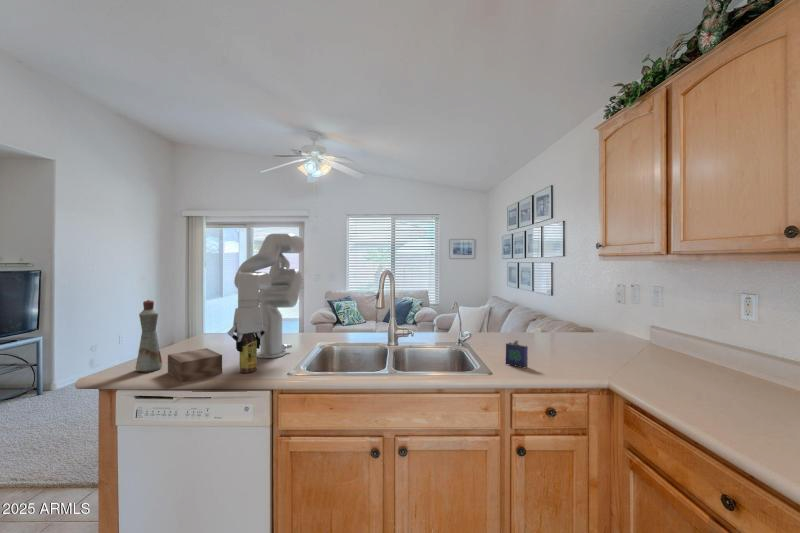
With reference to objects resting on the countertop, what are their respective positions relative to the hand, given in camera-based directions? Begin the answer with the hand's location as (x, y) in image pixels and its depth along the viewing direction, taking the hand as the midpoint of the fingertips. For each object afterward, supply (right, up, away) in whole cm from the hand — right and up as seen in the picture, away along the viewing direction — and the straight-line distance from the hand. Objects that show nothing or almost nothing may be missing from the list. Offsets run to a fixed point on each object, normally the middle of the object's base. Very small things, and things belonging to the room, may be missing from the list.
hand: (248, 349), depth 137 cm
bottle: (-40, -9, +1) cm, 41 cm away
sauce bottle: (0, -9, 0) cm, 9 cm away
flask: (+109, -9, +9) cm, 109 cm away
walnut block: (-20, -9, -2) cm, 22 cm away
